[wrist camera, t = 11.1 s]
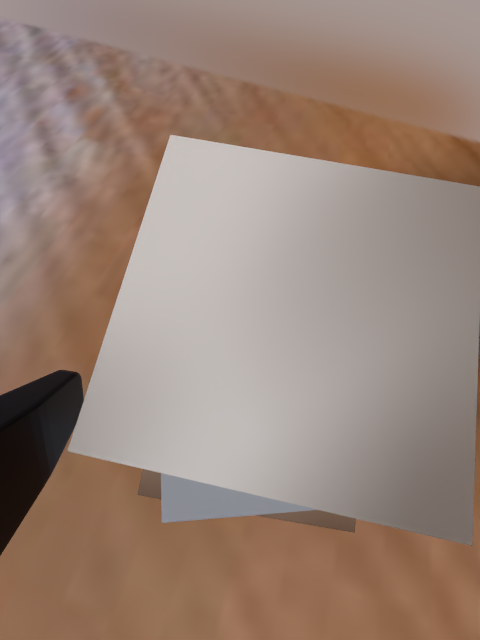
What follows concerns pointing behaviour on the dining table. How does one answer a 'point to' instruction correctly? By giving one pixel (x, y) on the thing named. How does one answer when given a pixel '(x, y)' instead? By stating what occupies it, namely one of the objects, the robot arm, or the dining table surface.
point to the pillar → (298, 337)
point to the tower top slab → (213, 501)
